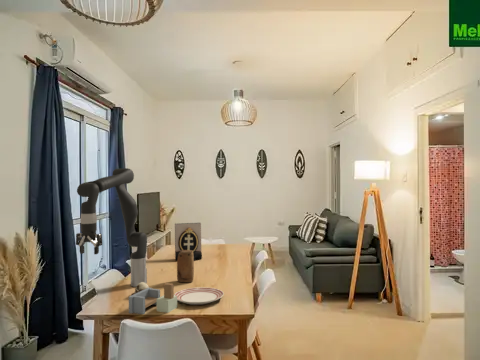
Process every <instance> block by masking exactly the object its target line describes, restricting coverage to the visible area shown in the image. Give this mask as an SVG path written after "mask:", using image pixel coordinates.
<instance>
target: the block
mask: <svg viewBox="0 0 480 360" xmlns="http://www.w3.org/2000/svg"><path fill="white" fill-rule="evenodd" d="M194 273H195V260H194V255H193V251H192V250H181V251H180V252H179V254H178V259H177V261H176V279H177V282H179V283H180V282H181V283H192V282H193V281H194Z"/></svg>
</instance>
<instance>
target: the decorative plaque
mask: <svg viewBox="0 0 480 360" xmlns="http://www.w3.org/2000/svg"><path fill="white" fill-rule="evenodd" d="M181 250H192V251H193V255H194V261H197V260H202V259H203V254H202V252H203V251H202V223H201V222H184V223H183V222H182V223H179V222H178V223H174V255H175V256H174V257H175V261H176V262H177V259H178V254H179V252H180V251H181Z"/></svg>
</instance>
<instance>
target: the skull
mask: <svg viewBox="0 0 480 360" xmlns="http://www.w3.org/2000/svg"><path fill="white" fill-rule="evenodd" d="M147 288H150V287H149V285H148V283H144V282H141V283H139V284H138V285H137V287H134V290H135V291H134V292H132V293H131V294H130V296H131V295H134V294H136V293H138V292H140V291H142V290H144V289H147Z"/></svg>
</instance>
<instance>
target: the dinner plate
mask: <svg viewBox="0 0 480 360" xmlns="http://www.w3.org/2000/svg"><path fill="white" fill-rule="evenodd" d="M224 295H225V293H224V291H223V290H221V289H218V288H214V287H203V286H202V287H199V286H198V287H190V288H184V289H181V290H179V291H176V292H174V296H177V302H180V303H184V304H187V305H191V306H192V305H193V306H197V305H198V306H200V305H208V304H211V303H213V302H215V301H218V300H220V299H221V298H222V297H223V296H224Z"/></svg>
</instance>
